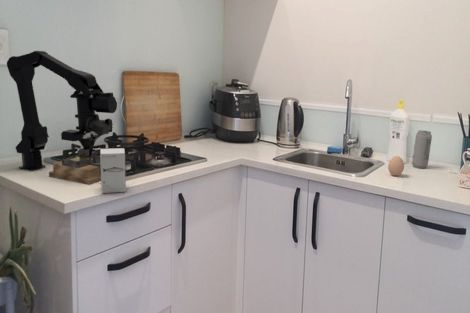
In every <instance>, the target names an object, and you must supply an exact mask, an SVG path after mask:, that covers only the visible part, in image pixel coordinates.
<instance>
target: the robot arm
mask: <svg viewBox="0 0 470 313" xmlns="http://www.w3.org/2000/svg"><path fill="white" fill-rule="evenodd" d="M40 66H41V67H43V68H45V69H47V70H48V71H50V72H52V73H54V74H56V76H59V77H61V78H62V79H64V80H65V81H66V82H67V83H68V85H69V86H70V87H71V88H72V89H74V90H75V91H74V92H73V93H72V94H71V95H70V96H69V97H70V98H71V99H75V100H76V111H77V114H74V117H75V118H77V122H78V124H77V125H76V126H75V129H67V130H62V132H61V133H60V136H61V140H63V141H69V142H79V143H80V145H81V146H82V148H86V149H89V156H91V154H92V152H93V150H94V146H95V143H96V141H97V139H100V138H101V136H104V135H108V134H109V133H112V132H113V119H111V118H106V119H100V116H99V114H98V113H102V114H103V113H105V114H106V113H107V114H114V113H115V112H116V111H117V110H118V102H117V99H116V97H115V96H114V93H113V92H104V91H103V89H102V88H101V86H100V85H99V84H98V82H97V79H96V77H95V75H94V74H91V73H89V72H86V71H83V70H79V69H75V68H73V67H71V66H69V65H68V64H67V63H65V62H62V61H61V60H59V59H58V58H55V57H54V56H52V55H51V54H49V53H48V52H47V51H44V50H34V51H31V52H29V53H26V54H22V55H18V56H15V55H13V56H10V57H9V58H8V60H7V61H6V67H7V70H8V73H9V76H10V77H11V78H12V79H13V81H14V82H15V84H16V88H17V93H18V94H17V95H18V98H19V103H20V109H21V113H22V120H23V127H22V129H21V132H20V135H21V140H20V141H19V142H18V144H17V145H16V146H15V151H16V153H17V154H21V162H22V164H21V165H20V166H18V168H19V169H22V170H27V171H34V170H38V169H42V168H45V167H46V164H43V157H42V151H43V150H45V147H46V144H47V143H48V141H49V138H50V136H49V134H48V127H47V126H46V125H45V126H43V125H42V124H41V122H40V119H39V114H38V107H37V102H36V97H35V91H34V86H33V81H34V77H35V74H36V71H35V70H36V68H39V67H40Z"/></svg>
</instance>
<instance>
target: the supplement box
mask: <svg viewBox="0 0 470 313" xmlns="http://www.w3.org/2000/svg"><path fill="white" fill-rule="evenodd" d="M99 151H100V152H99V154H100V165H101V181H100V185H101V186H100V189H101V190H100V191H101V194H107V193H108V194H109V193H125V192H126V190H127V187H126V186H127V185H126V152H125V148H124V147H123V148H100V150H99Z"/></svg>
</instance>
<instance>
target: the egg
mask: <svg viewBox="0 0 470 313" xmlns="http://www.w3.org/2000/svg"><path fill="white" fill-rule="evenodd" d="M387 169H388V172H389V174H391V175H392V176H395V177H397V176H400V175H401V174H402V173H403V172H404V170H405V163H404V160H403V158H402V157H401V156H399V155H395V156H393V157H391V159H390V160H389V161H388V165H387Z"/></svg>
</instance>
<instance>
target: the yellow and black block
mask: <svg viewBox="0 0 470 313" xmlns="http://www.w3.org/2000/svg"><path fill="white" fill-rule="evenodd" d="M78 154H79V156H77V158H73V159H69V160H73V161H80V160H84V159H89V163H91V158H90V157H89V149H86V148H83V147H80V148H79V149H78Z"/></svg>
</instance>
